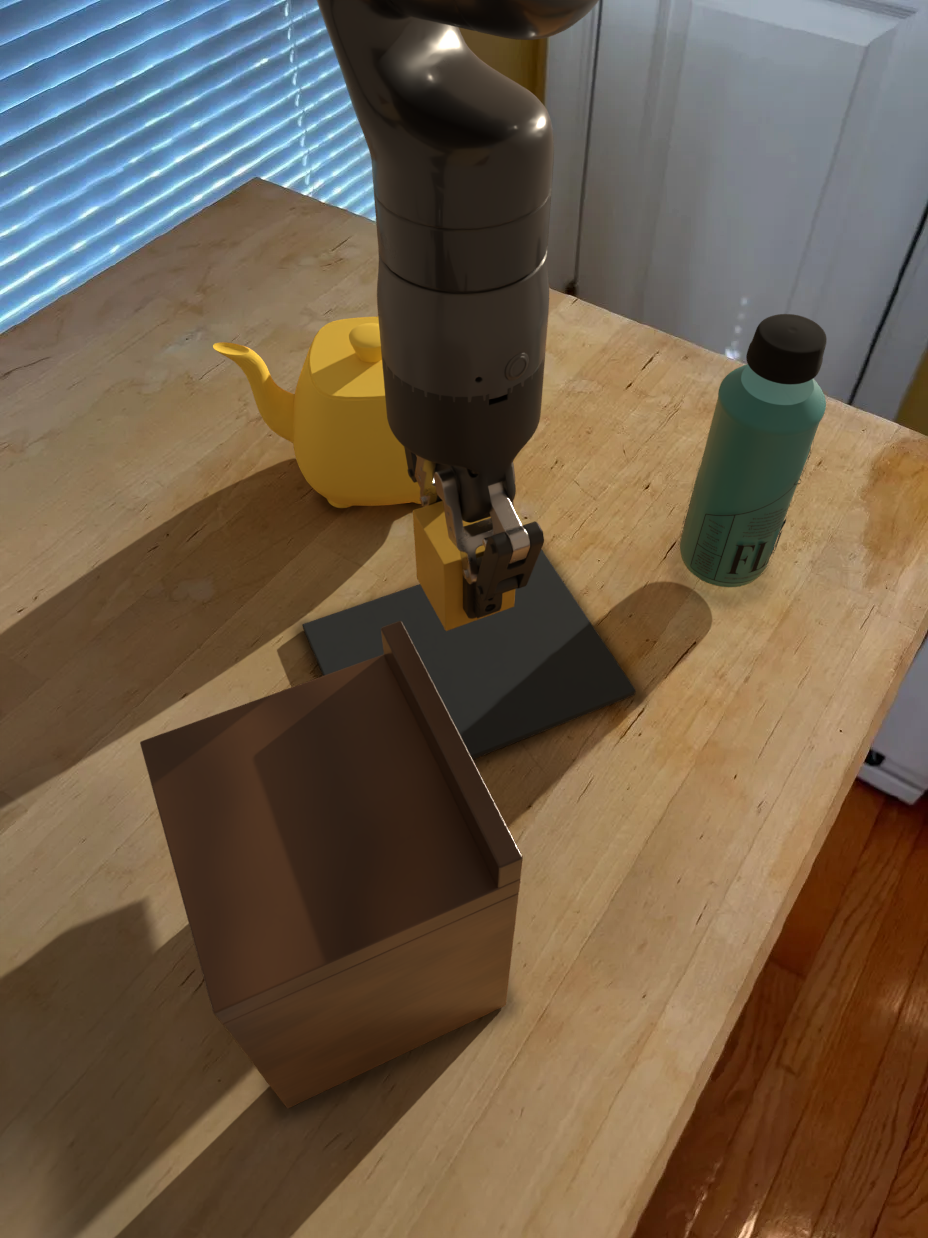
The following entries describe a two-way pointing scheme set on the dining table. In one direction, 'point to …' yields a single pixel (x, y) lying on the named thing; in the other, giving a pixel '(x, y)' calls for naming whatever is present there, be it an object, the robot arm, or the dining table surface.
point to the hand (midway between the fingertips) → (464, 579)
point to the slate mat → (490, 658)
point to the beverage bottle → (755, 453)
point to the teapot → (336, 415)
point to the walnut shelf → (339, 870)
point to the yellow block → (443, 567)
